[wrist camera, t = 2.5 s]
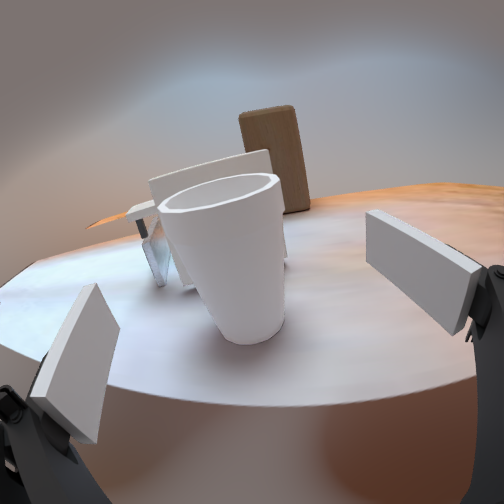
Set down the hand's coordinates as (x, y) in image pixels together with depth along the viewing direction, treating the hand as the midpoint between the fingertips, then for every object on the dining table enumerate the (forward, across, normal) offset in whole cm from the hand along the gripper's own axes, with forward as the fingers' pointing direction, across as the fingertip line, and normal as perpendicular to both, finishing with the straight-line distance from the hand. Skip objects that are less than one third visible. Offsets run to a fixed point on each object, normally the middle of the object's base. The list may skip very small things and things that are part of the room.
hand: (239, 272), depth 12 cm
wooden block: (+41, +14, -11) cm, 44 cm away
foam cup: (+10, 0, -11) cm, 15 cm away
